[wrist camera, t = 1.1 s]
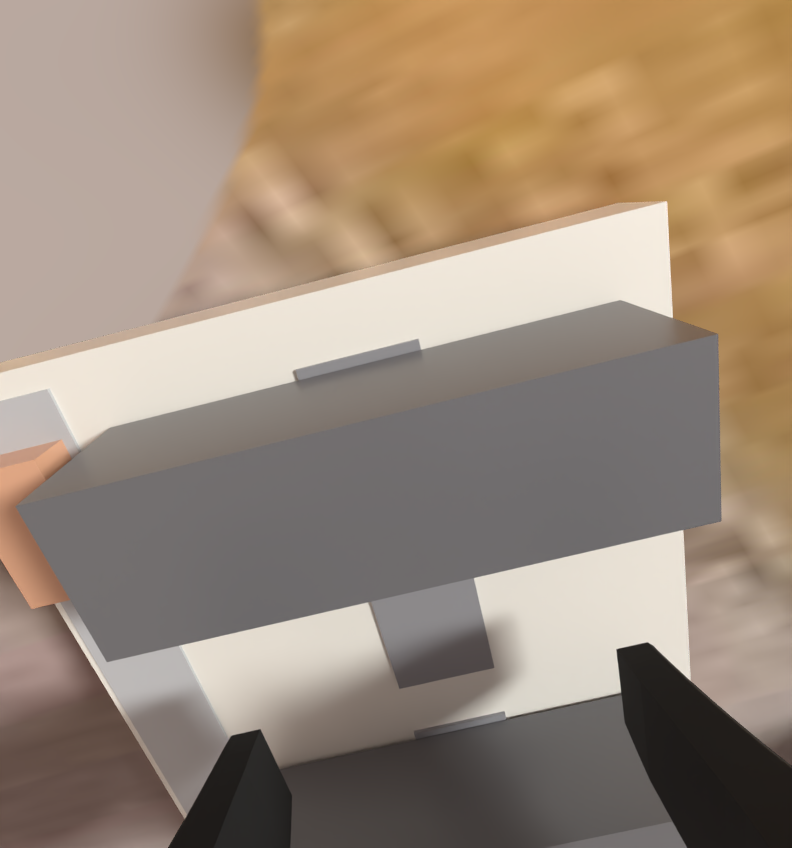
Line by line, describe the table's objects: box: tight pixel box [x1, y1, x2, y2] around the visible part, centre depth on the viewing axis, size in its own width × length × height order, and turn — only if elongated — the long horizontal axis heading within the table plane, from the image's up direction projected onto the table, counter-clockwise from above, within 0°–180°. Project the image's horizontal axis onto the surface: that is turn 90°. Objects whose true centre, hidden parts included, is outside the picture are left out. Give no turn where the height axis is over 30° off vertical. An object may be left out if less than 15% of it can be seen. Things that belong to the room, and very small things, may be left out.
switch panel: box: [0, 201, 691, 819], centre depth 16 cm, size 14×31×3 cm, turn 14°
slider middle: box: [280, 695, 687, 848], centre depth 13 cm, size 10×3×3 cm, turn 104°
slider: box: [15, 300, 721, 662], centre depth 9 cm, size 10×3×3 cm, turn 104°
